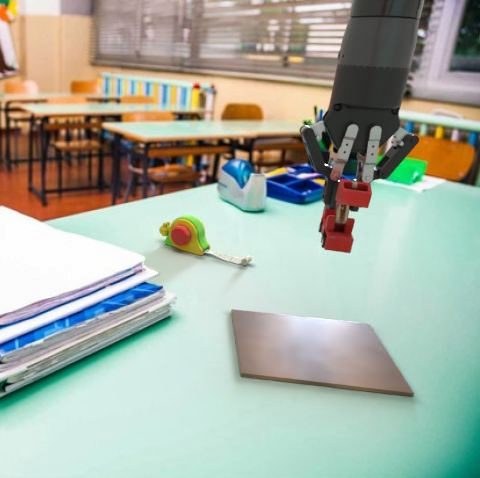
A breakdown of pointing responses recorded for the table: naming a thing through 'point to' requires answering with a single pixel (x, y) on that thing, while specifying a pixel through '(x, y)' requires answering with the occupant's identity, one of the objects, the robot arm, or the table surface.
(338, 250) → the toy fire truck
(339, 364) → the metal plate
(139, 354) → the table surface
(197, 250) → the toy measuring tape
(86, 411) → the table surface
